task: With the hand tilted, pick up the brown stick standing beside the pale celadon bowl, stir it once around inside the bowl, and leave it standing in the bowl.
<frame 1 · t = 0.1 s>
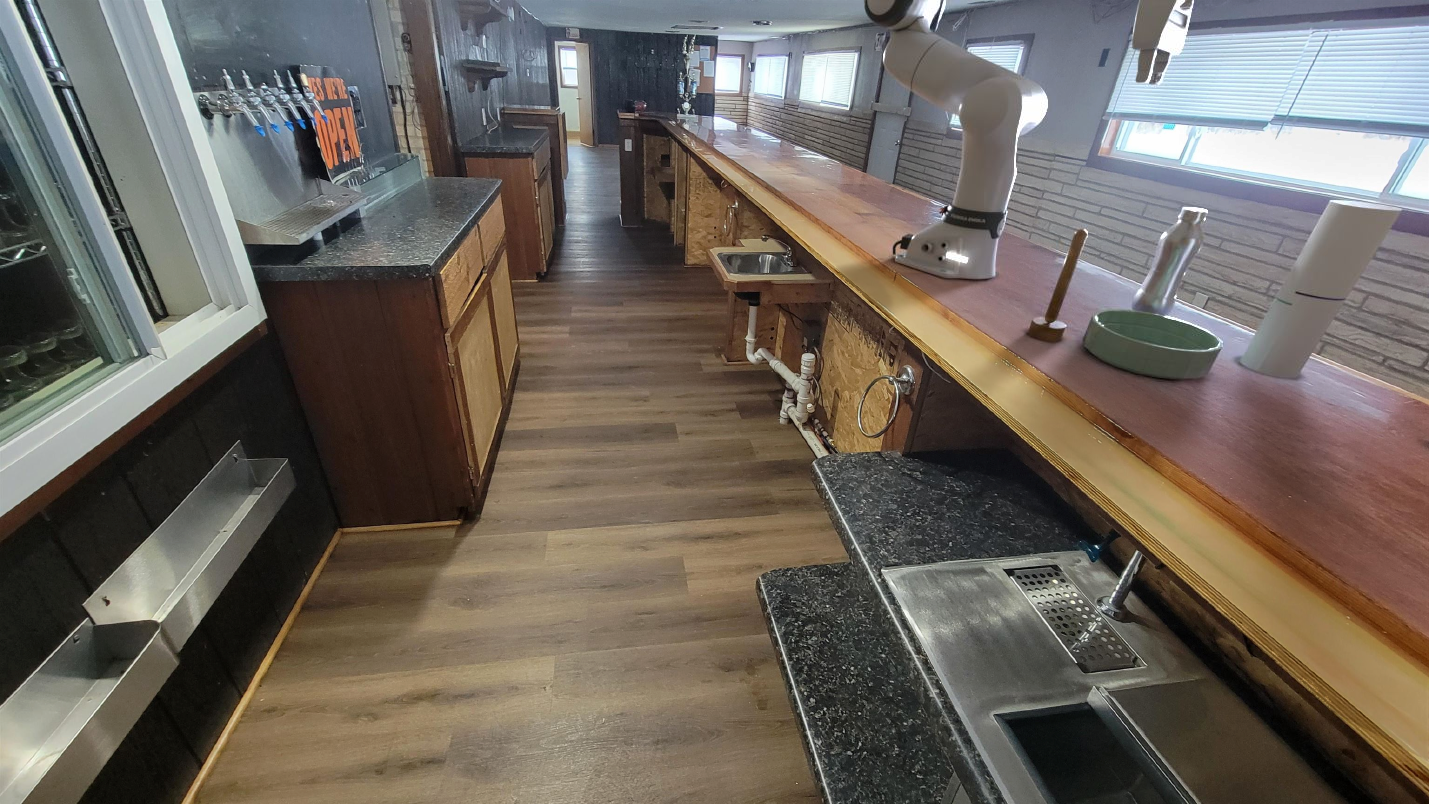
hand: (1148, 83, 98), 39 cm above the counter, tool pointing down, fingers open, 8 cm apart
cylindrical container: (1267, 368, 90), on the counter
bowl: (1141, 357, 91), on the counter
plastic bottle: (1146, 317, 109), on the counter
brown stick: (1044, 335, 98), on the counter
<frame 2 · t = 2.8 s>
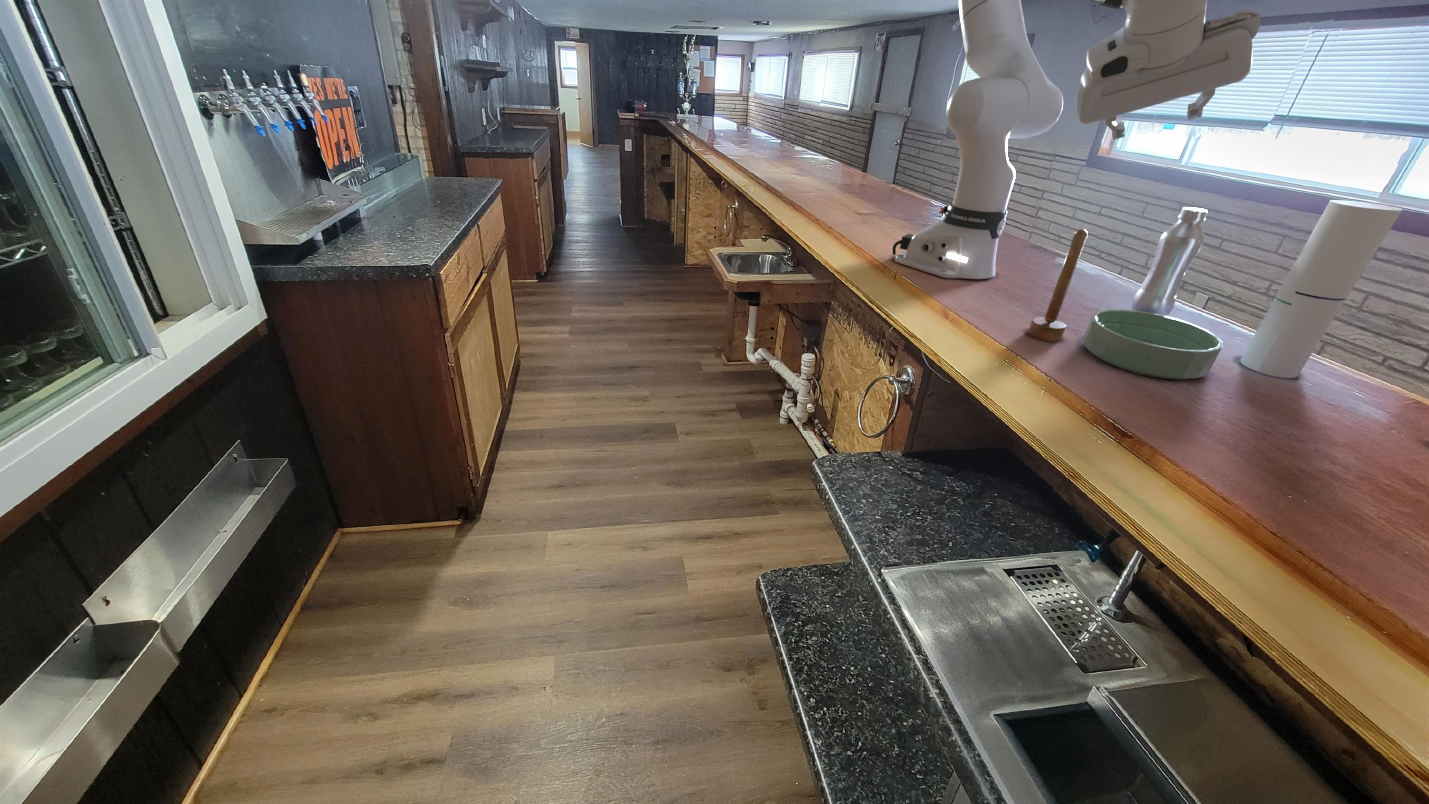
hand: (1155, 127, 88), 33 cm above the counter, tool tilted 35°, fingers open, 8 cm apart
nothing on the counter moved.
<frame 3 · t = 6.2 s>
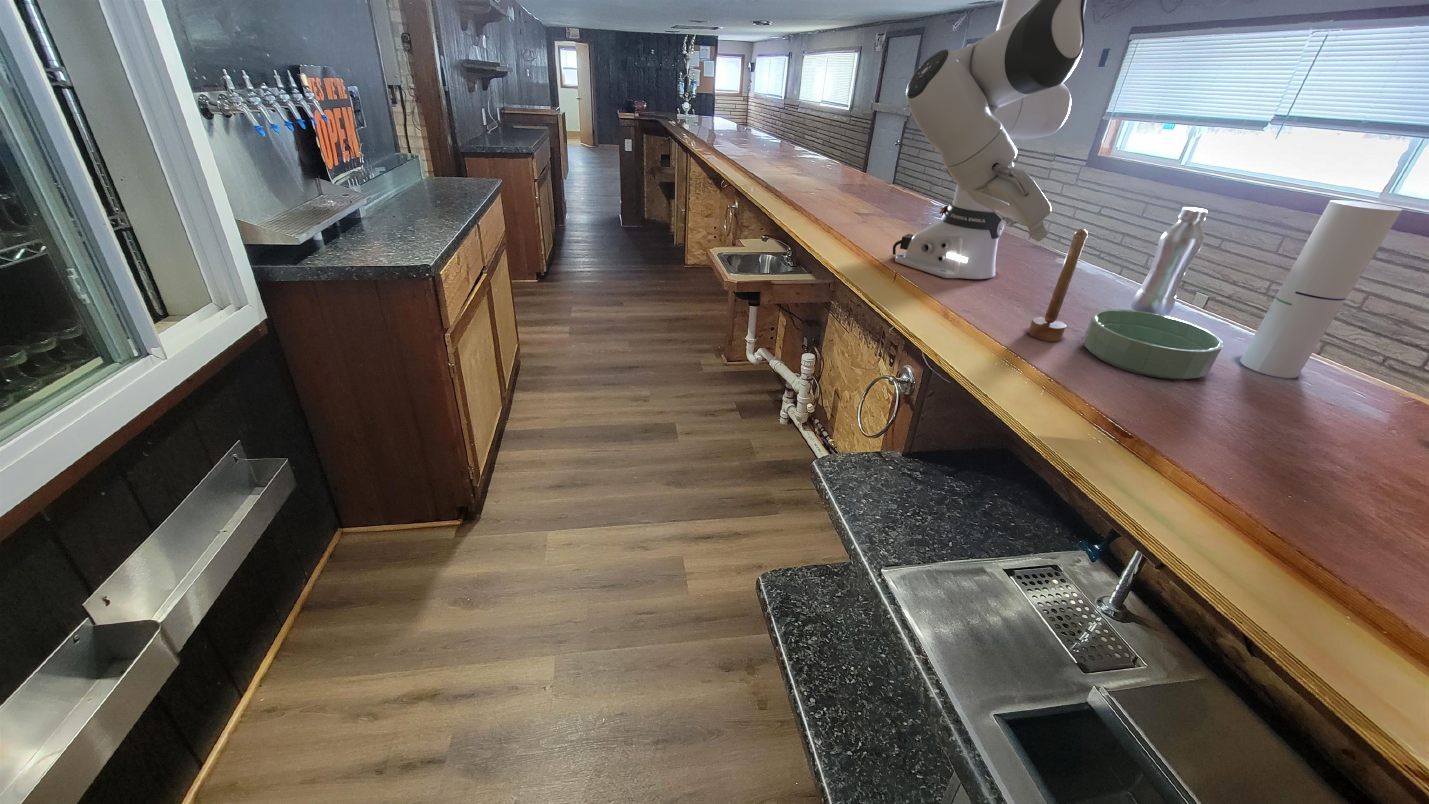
hand: (1026, 230, 89), 18 cm above the counter, tool tilted 45°, fingers open, 8 cm apart
nothing on the counter moved.
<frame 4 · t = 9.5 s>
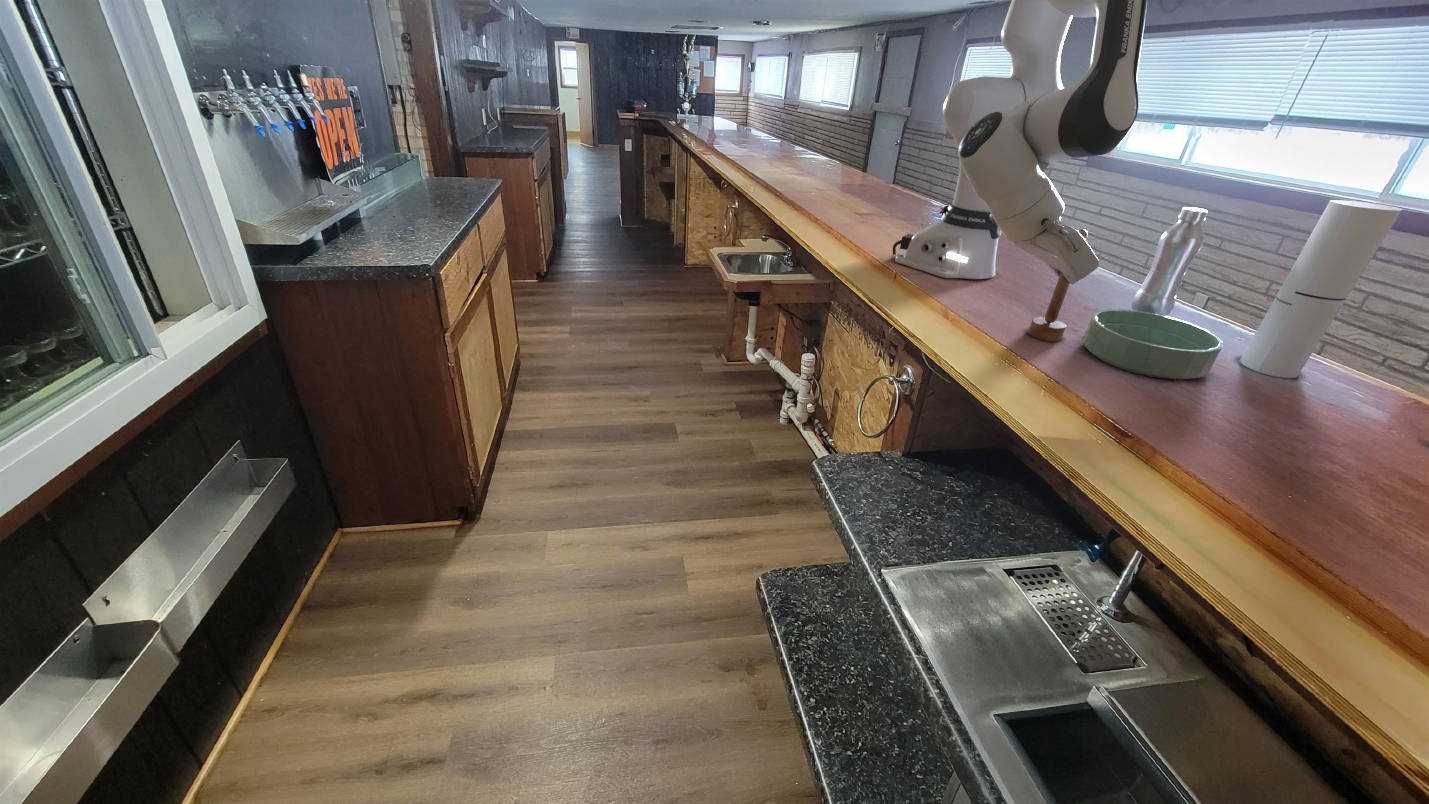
hand: (1069, 277, 93), 10 cm above the counter, tool tilted 45°, fingers closed on brown stick
brown stick: (1044, 335, 98), on the counter, touching gripper
everything else where it was.
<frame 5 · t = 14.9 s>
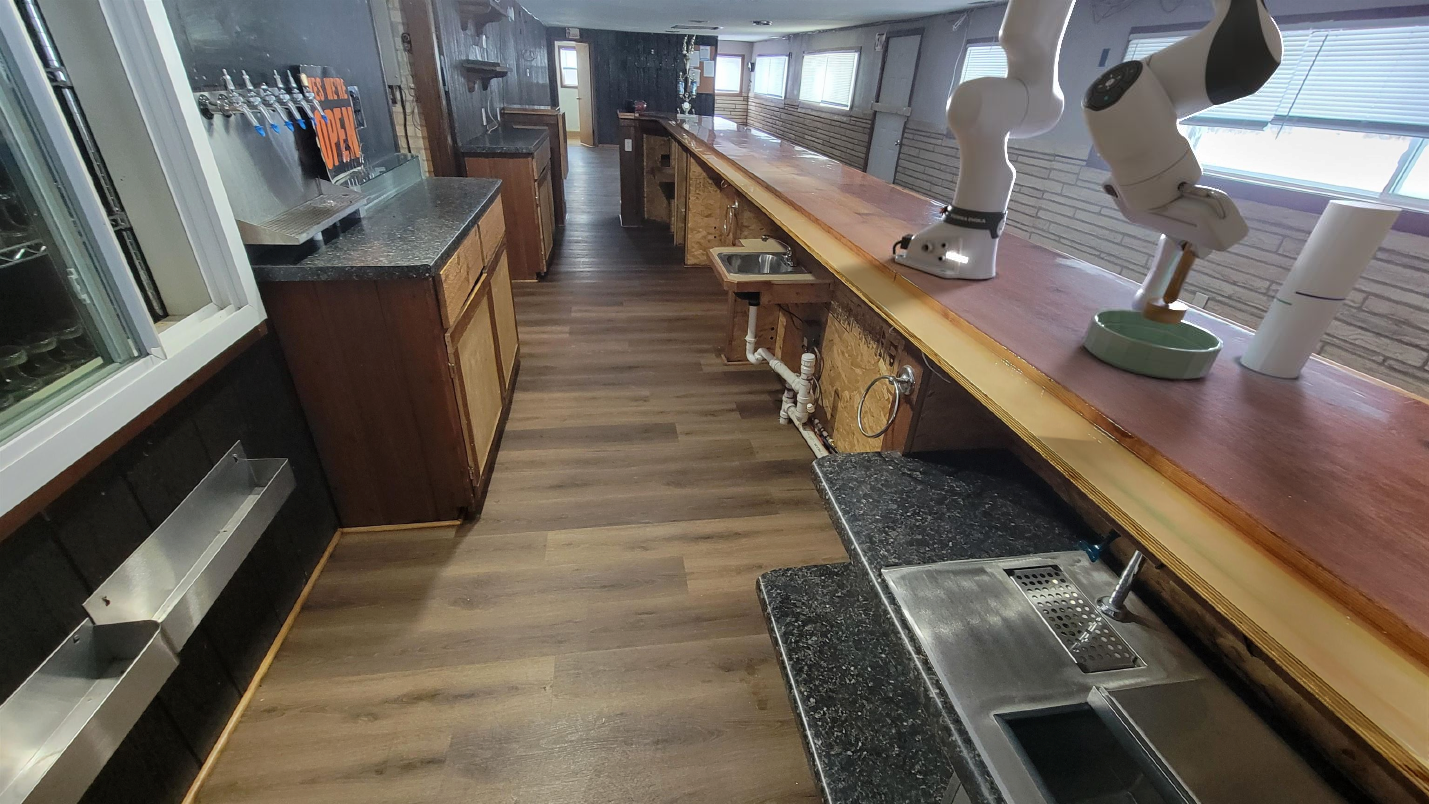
hand: (1195, 252, 83), 17 cm above the counter, tool tilted 45°, fingers closed on brown stick
brown stick: (1160, 318, 88), point 7 cm above the counter, touching gripper
everything else where it was.
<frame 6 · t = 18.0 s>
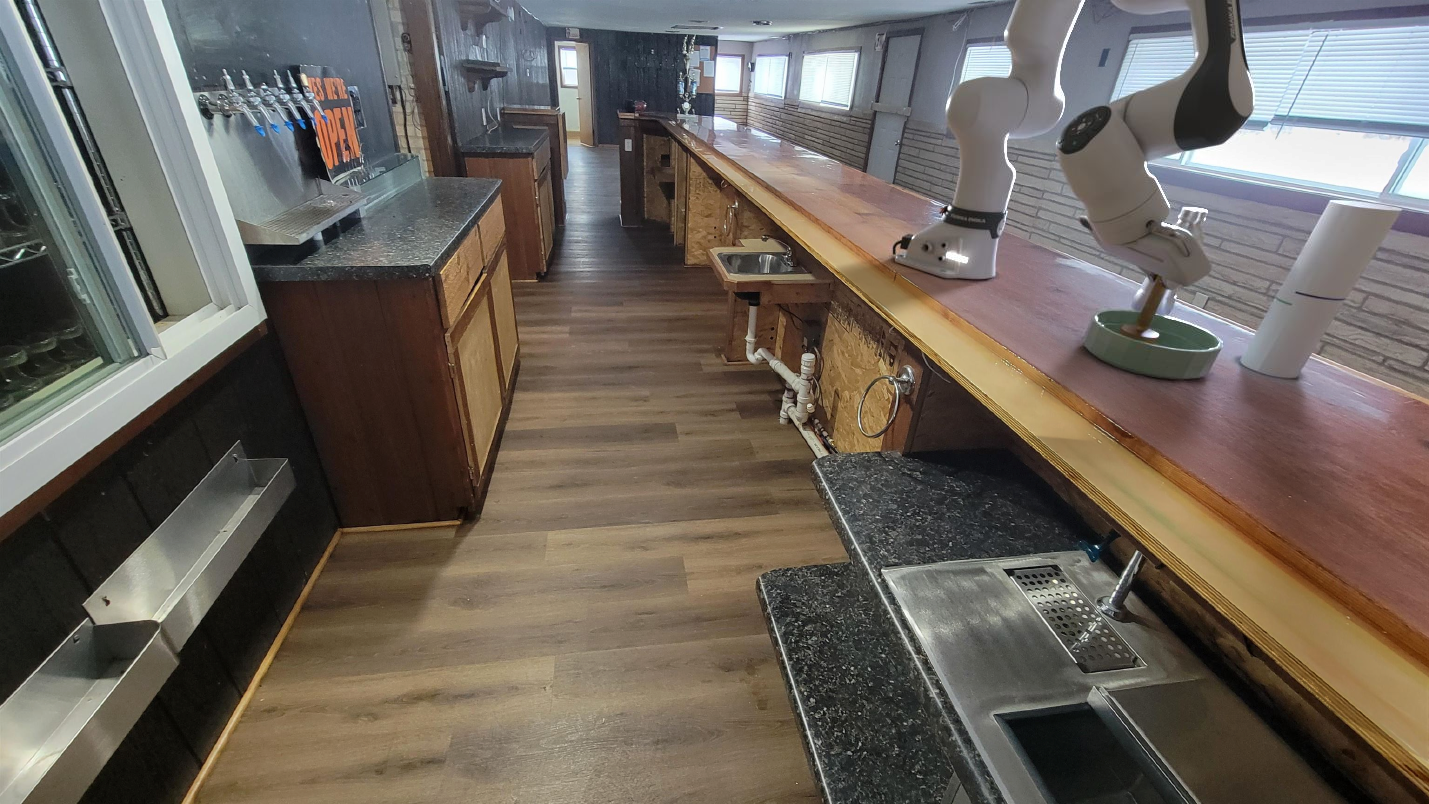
hand: (1165, 283, 87), 12 cm above the counter, tool tilted 45°, fingers closed on brown stick
brown stick: (1133, 344, 92), point 1 cm above the counter, touching gripper
everything else where it was.
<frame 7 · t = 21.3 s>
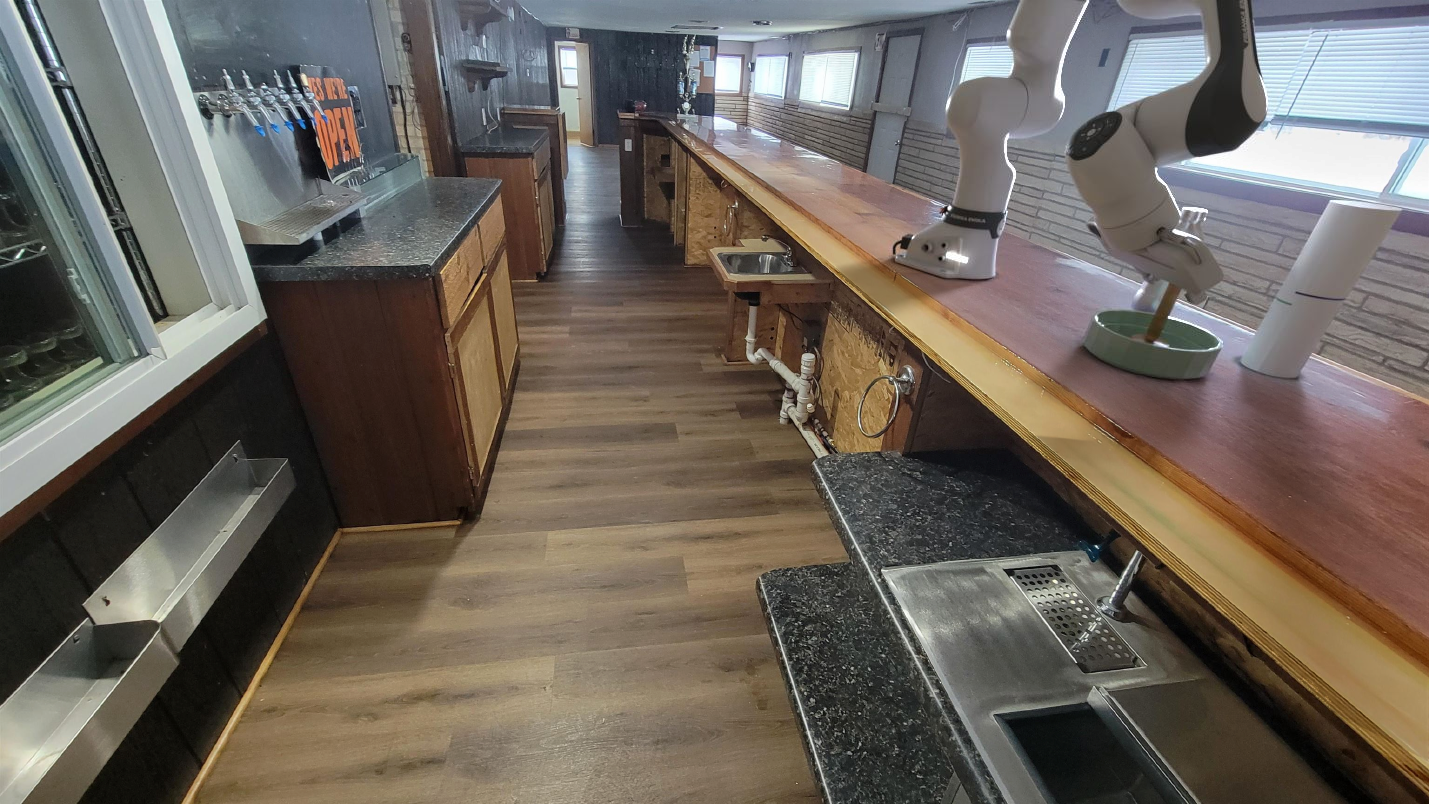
hand: (1175, 290, 86), 11 cm above the counter, tool tilted 45°, fingers open, 8 cm apart
brown stick: (1143, 354, 91), point 1 cm above the counter, touching bowl
everything else where it was.
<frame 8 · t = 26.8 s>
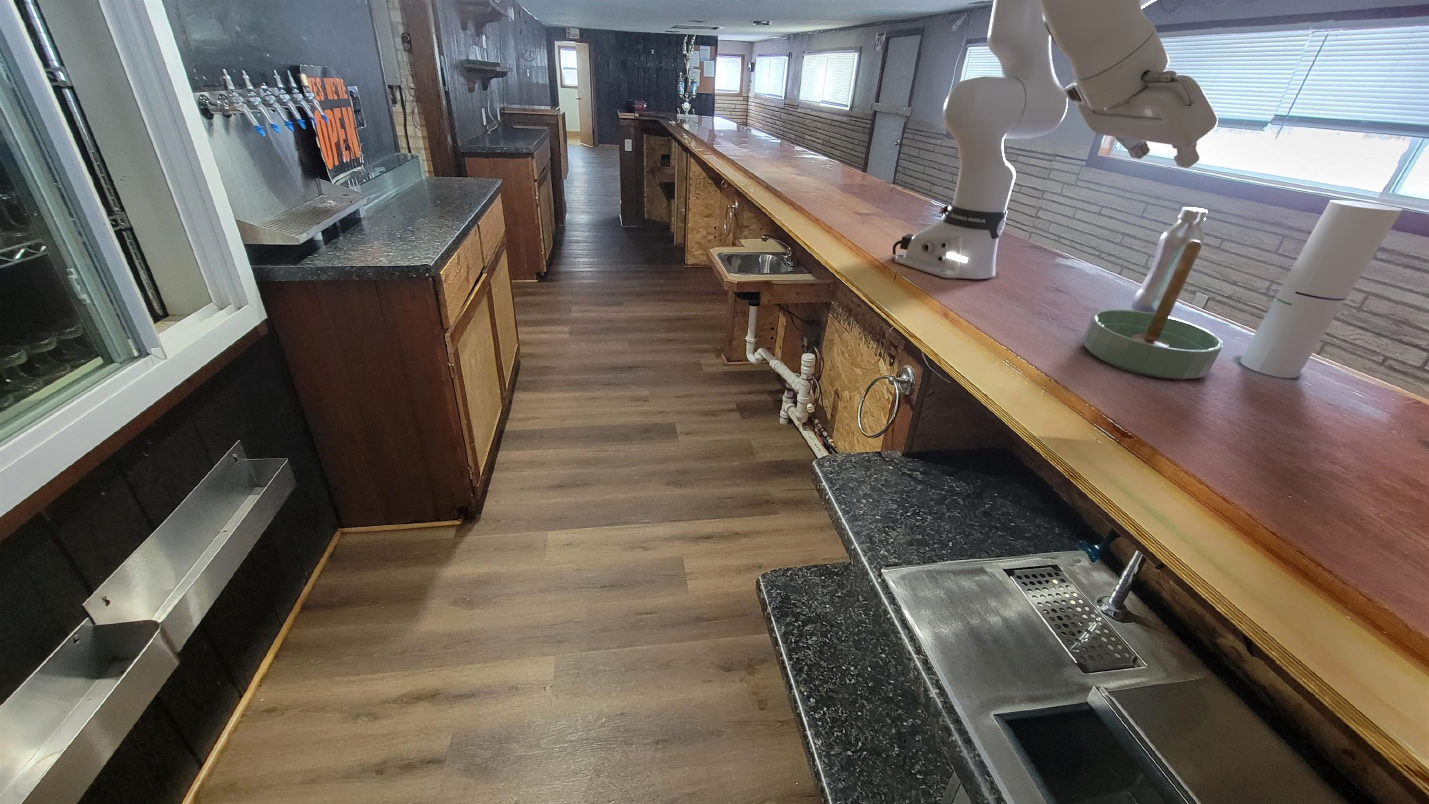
hand: (1164, 159, 77), 29 cm above the counter, tool tilted 45°, fingers open, 8 cm apart
nothing on the counter moved.
at the end: brown stick inside the target area in the bowl (0.1 cm from its centre), point 0.6 cm above the bowl's base; the gripper is holding nothing; brown stick moved 14.4 cm from its start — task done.
